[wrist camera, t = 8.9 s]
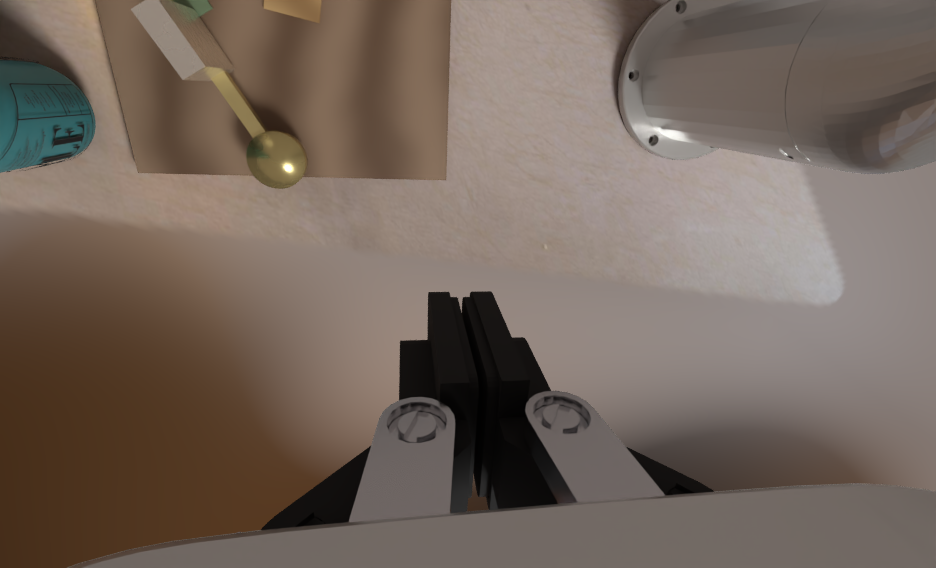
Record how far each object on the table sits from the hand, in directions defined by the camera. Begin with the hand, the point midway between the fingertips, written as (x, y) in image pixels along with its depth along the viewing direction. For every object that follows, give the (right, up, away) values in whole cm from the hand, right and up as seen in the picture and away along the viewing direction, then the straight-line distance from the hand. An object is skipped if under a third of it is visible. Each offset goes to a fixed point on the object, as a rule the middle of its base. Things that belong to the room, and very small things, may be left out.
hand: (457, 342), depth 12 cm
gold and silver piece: (-16, +15, +19) cm, 29 cm away
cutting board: (-13, +16, +21) cm, 29 cm away
